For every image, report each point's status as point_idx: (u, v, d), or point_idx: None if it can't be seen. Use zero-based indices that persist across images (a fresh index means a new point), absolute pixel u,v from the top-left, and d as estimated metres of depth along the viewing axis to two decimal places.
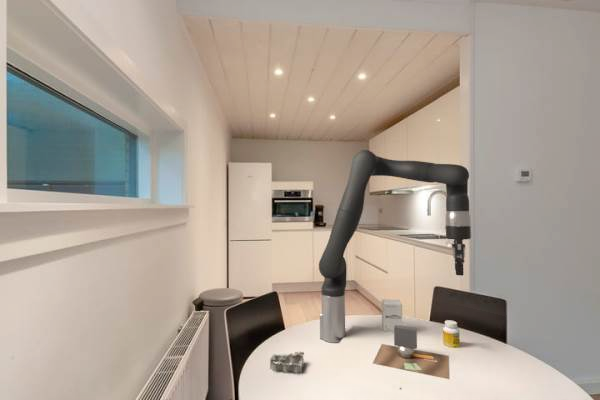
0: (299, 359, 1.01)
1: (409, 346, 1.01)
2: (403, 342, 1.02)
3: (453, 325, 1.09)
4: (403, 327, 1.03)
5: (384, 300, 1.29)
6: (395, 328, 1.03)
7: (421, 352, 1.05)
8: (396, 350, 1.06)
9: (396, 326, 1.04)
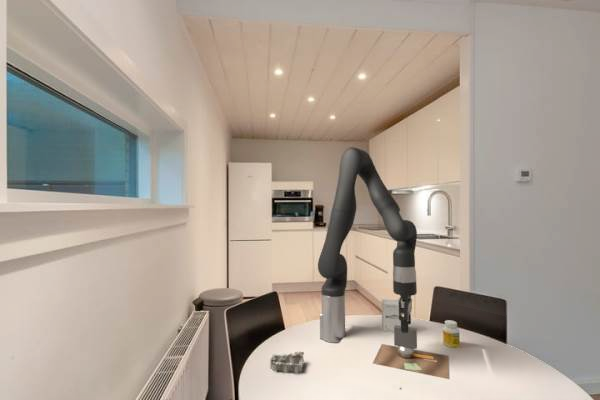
0: (299, 359, 1.01)
1: (409, 346, 1.01)
2: (403, 342, 1.02)
3: (453, 325, 1.09)
4: None
5: (384, 300, 1.29)
6: (395, 328, 1.03)
7: (421, 352, 1.05)
8: (396, 350, 1.06)
9: (396, 326, 1.04)
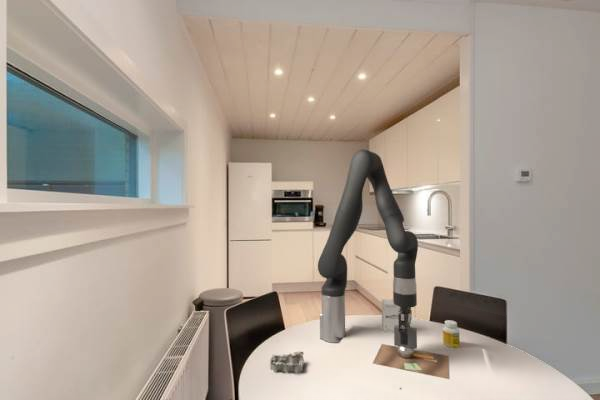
0: (299, 359, 1.01)
1: (409, 346, 1.01)
2: None
3: (453, 325, 1.09)
4: (403, 327, 1.03)
5: (384, 300, 1.29)
6: (395, 328, 1.03)
7: (421, 352, 1.05)
8: (396, 350, 1.06)
9: (396, 326, 1.04)
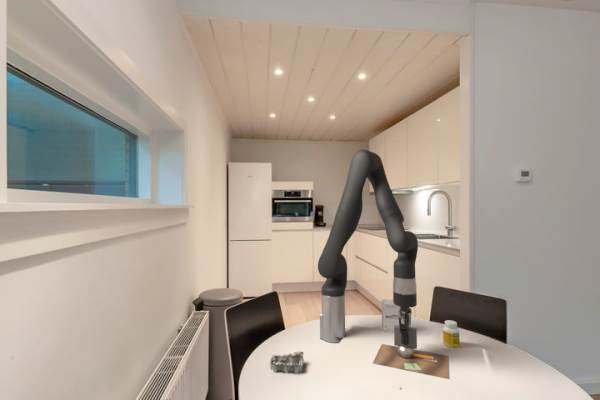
0: (299, 359, 1.01)
1: (409, 346, 1.01)
2: None
3: (453, 325, 1.09)
4: None
5: (384, 300, 1.29)
6: (395, 328, 1.03)
7: (421, 352, 1.05)
8: (396, 350, 1.06)
9: (396, 326, 1.04)
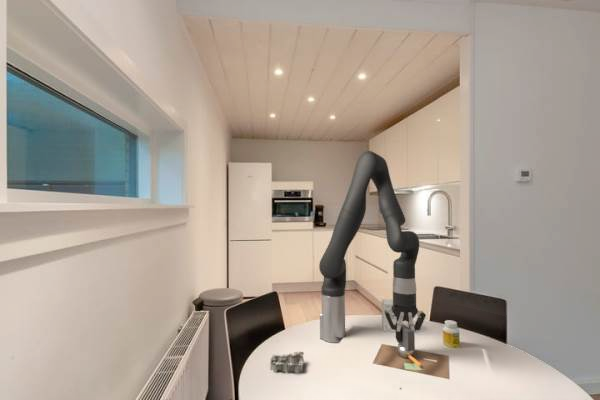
0: (298, 359, 1.01)
1: (404, 345, 1.01)
2: (401, 341, 1.03)
3: (453, 325, 1.09)
4: (404, 327, 1.04)
5: (384, 300, 1.29)
6: None
7: (421, 352, 1.05)
8: (396, 350, 1.06)
9: None
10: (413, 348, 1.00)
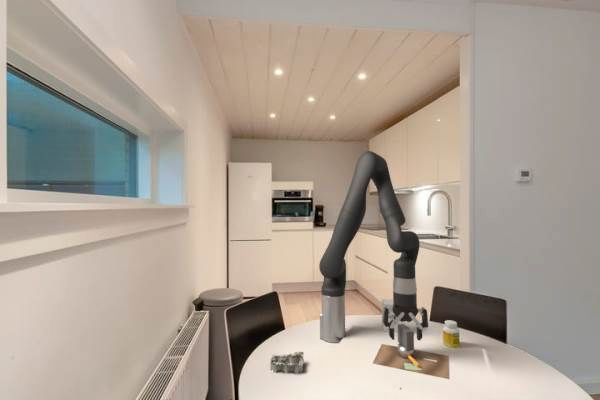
0: (298, 359, 1.01)
1: (403, 345, 1.02)
2: (401, 340, 1.03)
3: (453, 325, 1.09)
4: (404, 327, 1.04)
5: (384, 300, 1.29)
6: (398, 325, 1.06)
7: (421, 352, 1.05)
8: (396, 350, 1.06)
9: (401, 324, 1.06)
10: (412, 348, 0.99)
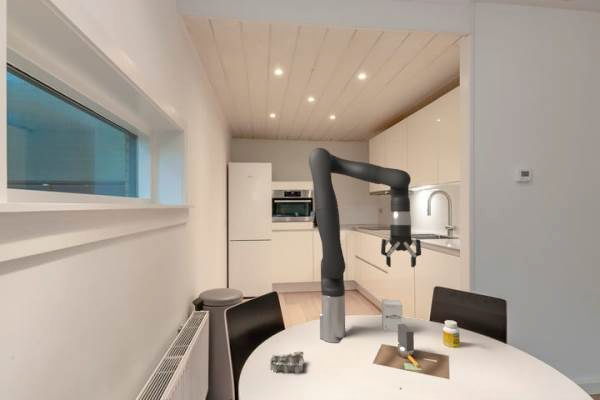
0: (298, 359, 1.01)
1: (403, 345, 1.02)
2: (401, 340, 1.03)
3: (453, 325, 1.09)
4: (404, 327, 1.04)
5: (384, 300, 1.29)
6: (398, 325, 1.06)
7: (421, 352, 1.05)
8: (396, 350, 1.06)
9: (401, 324, 1.06)
10: (412, 348, 0.99)
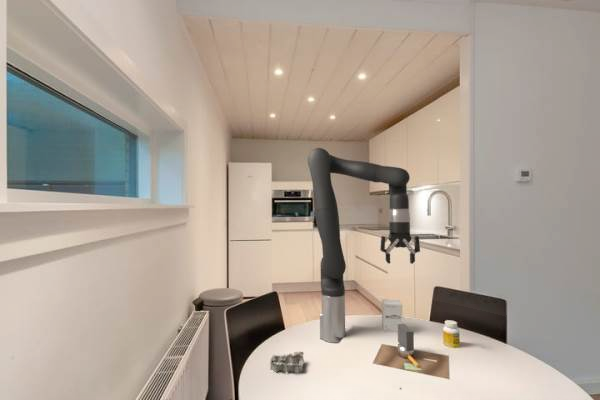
0: (298, 359, 1.01)
1: (403, 345, 1.02)
2: (401, 340, 1.03)
3: (453, 325, 1.09)
4: (404, 327, 1.04)
5: (384, 300, 1.29)
6: (398, 325, 1.06)
7: (421, 352, 1.05)
8: (396, 350, 1.06)
9: (401, 324, 1.06)
10: (412, 348, 0.99)
